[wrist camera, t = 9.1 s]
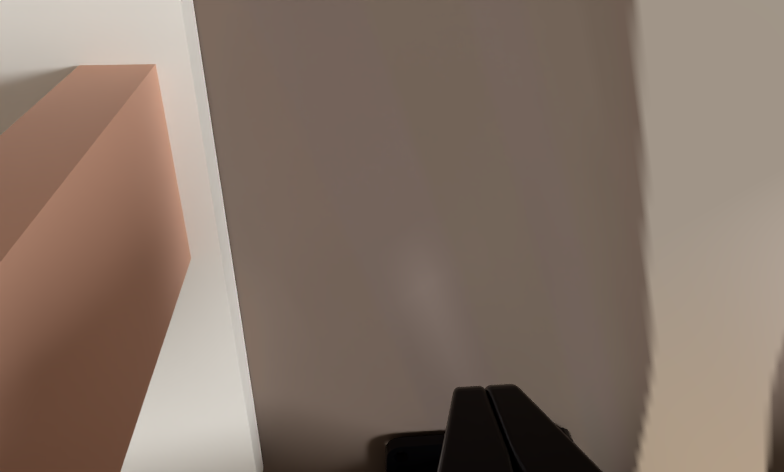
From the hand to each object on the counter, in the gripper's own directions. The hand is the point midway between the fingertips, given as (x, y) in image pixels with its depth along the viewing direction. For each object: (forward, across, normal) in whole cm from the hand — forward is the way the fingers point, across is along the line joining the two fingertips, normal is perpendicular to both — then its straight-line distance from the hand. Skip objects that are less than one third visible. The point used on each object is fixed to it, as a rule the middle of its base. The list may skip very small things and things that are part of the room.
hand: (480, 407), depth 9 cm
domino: (+8, +6, 0) cm, 10 cm away
